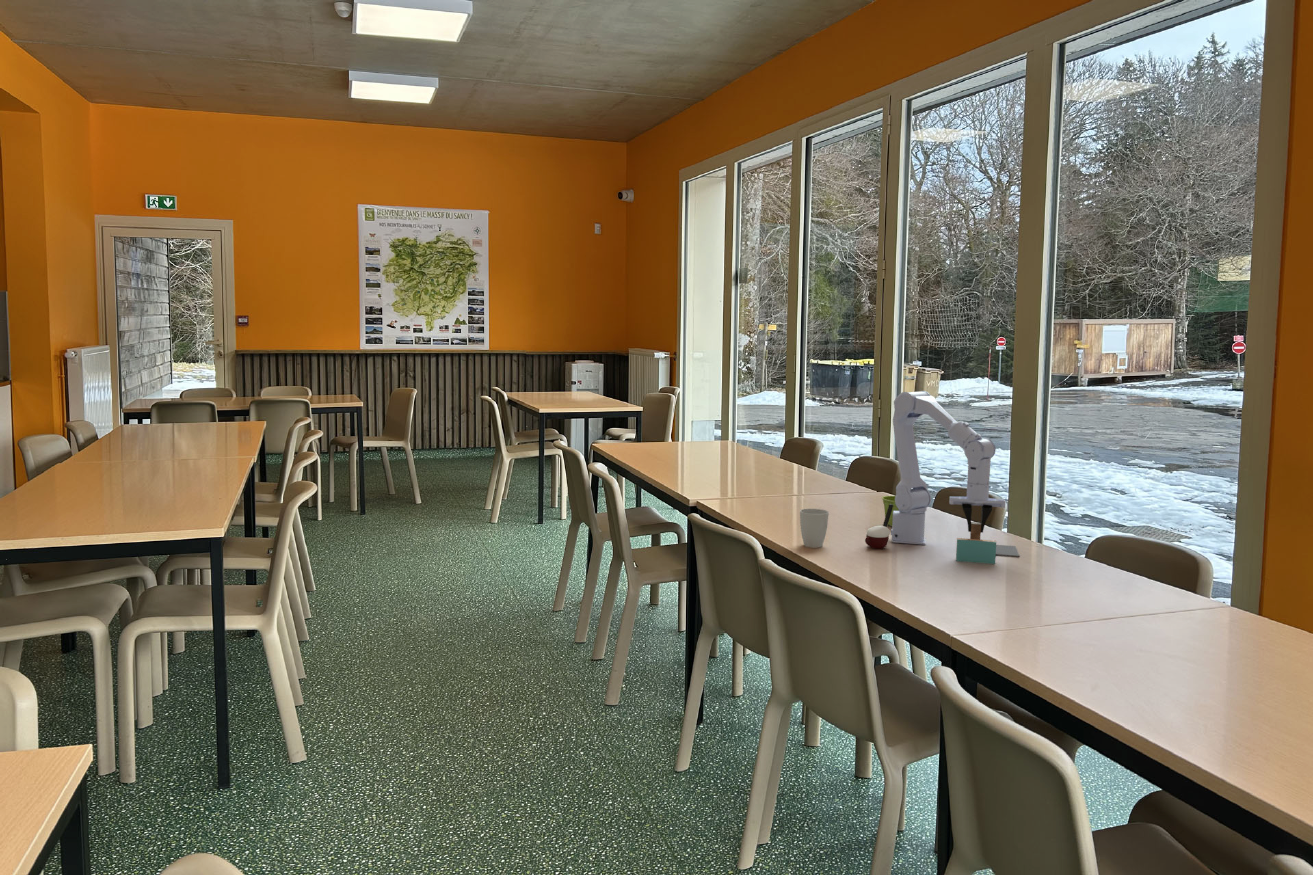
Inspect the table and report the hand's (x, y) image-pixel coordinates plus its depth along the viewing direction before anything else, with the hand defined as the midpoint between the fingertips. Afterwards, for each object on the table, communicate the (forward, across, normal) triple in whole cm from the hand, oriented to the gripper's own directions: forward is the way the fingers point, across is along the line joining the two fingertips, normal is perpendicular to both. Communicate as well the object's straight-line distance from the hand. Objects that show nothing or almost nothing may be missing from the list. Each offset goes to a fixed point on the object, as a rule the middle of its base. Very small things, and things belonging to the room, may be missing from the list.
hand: (975, 531), depth 261 cm
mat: (+7, +6, +9) cm, 13 cm away
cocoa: (+7, -26, +2) cm, 27 cm away
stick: (+4, 0, 0) cm, 4 cm away
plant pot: (+7, -22, +35) cm, 42 cm away
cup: (+7, -44, -2) cm, 45 cm away
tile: (+7, 0, -6) cm, 9 cm away
